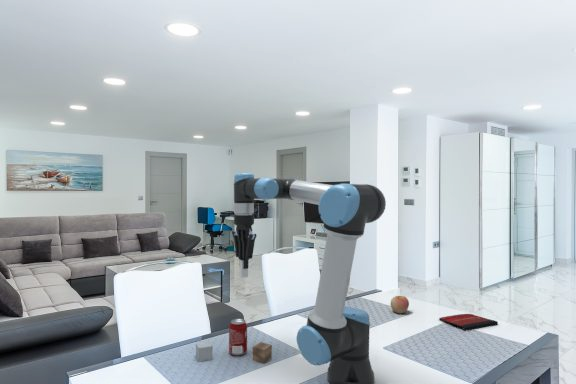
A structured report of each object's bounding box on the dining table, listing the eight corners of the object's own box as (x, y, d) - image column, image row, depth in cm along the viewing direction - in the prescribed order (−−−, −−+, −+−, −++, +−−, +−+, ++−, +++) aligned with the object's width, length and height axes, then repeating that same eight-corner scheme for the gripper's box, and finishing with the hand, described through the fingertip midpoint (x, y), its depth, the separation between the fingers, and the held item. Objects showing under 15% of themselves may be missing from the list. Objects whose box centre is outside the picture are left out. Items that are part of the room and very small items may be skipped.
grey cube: (212, 359, 140) (212, 345, 140) (198, 362, 138) (198, 348, 138) (209, 354, 145) (209, 340, 145) (195, 356, 143) (195, 343, 143)
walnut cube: (271, 358, 142) (271, 344, 142) (263, 363, 138) (264, 349, 137) (260, 355, 144) (260, 341, 144) (252, 360, 140) (252, 346, 140)
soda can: (243, 357, 142) (244, 324, 142) (226, 355, 144) (226, 323, 143) (249, 349, 149) (249, 318, 149) (232, 348, 150) (232, 317, 150)
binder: (497, 321, 179) (464, 327, 170) (498, 326, 179) (464, 332, 170) (469, 311, 193) (437, 317, 185) (469, 316, 193) (437, 322, 185)
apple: (410, 311, 196) (410, 295, 196) (405, 316, 189) (405, 300, 189) (393, 308, 201) (393, 293, 201) (388, 313, 194) (388, 297, 193)
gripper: (262, 214, 143) (262, 278, 143) (242, 213, 153) (242, 272, 153) (245, 215, 138) (245, 281, 139) (226, 213, 148) (226, 275, 148)
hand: (243, 276), depth 146 cm, fingers closed
